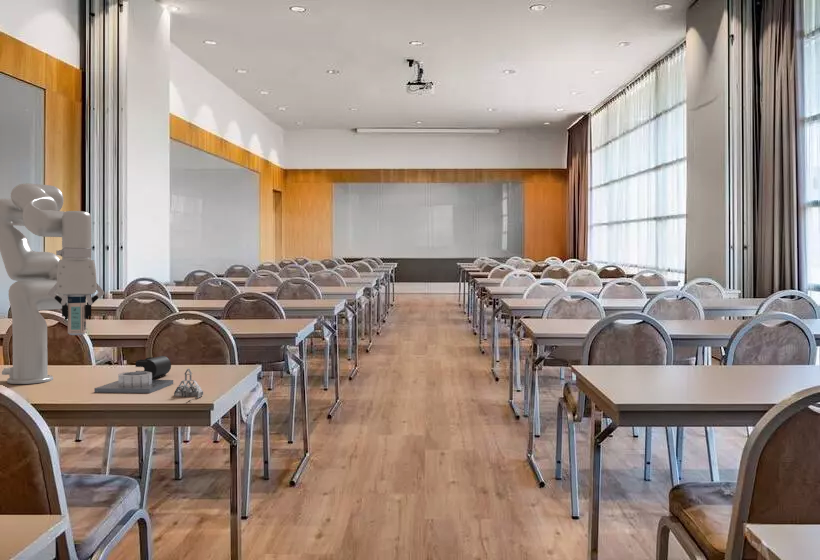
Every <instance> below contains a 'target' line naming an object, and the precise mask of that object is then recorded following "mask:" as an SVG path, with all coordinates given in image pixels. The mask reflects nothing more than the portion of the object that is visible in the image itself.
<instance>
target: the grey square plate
mask: <svg viewBox="0 0 820 560" xmlns="http://www.w3.org/2000/svg"><path fill="white" fill-rule="evenodd" d="M136 371H137V372H136ZM136 371H126V372H121V373H118V377H117V378H118V379H117V380H116V381H113V382H110V383H106V384H104V385H100V386H98V387H97V386H96V387H94V391H93V392H94V393H98V394H99V393H106V394H107V393H108V394H109V393H110V394H111V393H113V394H115V393H116V394H151V393H154V392H157V391H159V390H162V389H164V388H168V387H169V386H172V385H174V380H173V379H153V380H152V373H151V372H146V371H144V370H136ZM171 384H172V385H171Z"/></svg>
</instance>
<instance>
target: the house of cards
mask: <svg viewBox="0 0 820 560" xmlns="http://www.w3.org/2000/svg"><path fill="white" fill-rule="evenodd" d="M192 374H193V373H192V371H191V369H190V368H189V367H188V368H186V370H185V372H184V379H182V380H181V381H180V382H179V385H178V386H176V389H175V390H174V392H173V397H181V398H182V397H186V398H189V397H195V398H197V399H198V398H200V397H202V396H204V390H203V389H202V387H201V386H200V385H199V384H198V381H196V380H195V379H194V380H193V379H192V377H193V376H192ZM188 376H189V379H188ZM182 384H183V385H182ZM188 401H189V402H191V401H192V399H189V400H188Z"/></svg>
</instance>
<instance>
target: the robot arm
mask: <svg viewBox="0 0 820 560" xmlns="http://www.w3.org/2000/svg"><path fill="white" fill-rule="evenodd" d="M64 202H65V199H64V194H63V192H62V191H61V189H60V188H58V187H57V186H55V185H50V184H38V183H27V182H26V183H20V184H18V185H16V186H15V187H13V188H12V190H11V192H10V198H0V255H1V258H2V261H3V265H4V268H5V271H6V273H7V276H8V278H10V279H11V280H12V281H15V282H13V283H12V284H11V285H10V286H9V289H8V300H9V304H10V305H9V306H10V312H11V319H12V321H11V323H12V326H11V327H12V366H11V367H8V368H3V370H1V375H3V376H6V375H8V376H9V378H7V380H6V381H7V384H11V385H32V384H39V383H40V384H41V383H46V382H51V381H54V376H53V375H52V374H49V373H48V371H49V370H48V323H47V321H46V319H45V318H44V316H43V315H42V314H41V312H40V311H46V310H47V311H49V310H61V317H64V320H65V321H66V320H67V321H68V295H86V320H89V317H92V305H93V304H94V303H96V301H98V300H99V299H100V298H101V297H103V296H104V295H105V294H106V292H105V291H104V290H103V289H102V287H101V286H100V285H99V284H98V282H97V269H96V267H97V266H96V263H95V260H94V259H92V216H91V213H89V212H87V211H83V210H81V211H80V210H68V211H67V210H66V211H63V210H62V208H63V205H64ZM15 226H19V227H25V229H27V230H28V231H29V232H31V233H32V234H33V235H35V236H38V237H41V238H42V237H43V238H44V237H45V238H47V237H48V238H61V249H60V250H56V254H55V253H54V252H49V251H35V250H32V248H31V245H30V241H29V239H28V237H26V236H25V235H24V233H23V232H21V231H20V230H19V229H17V228H16V227H15ZM59 256H60V257H61V259H60V257H59ZM96 292H97V294H95V293H96ZM93 294H95V295H93ZM92 295H93V296H92ZM91 296H92V297H91Z"/></svg>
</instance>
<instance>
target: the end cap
mask: <svg viewBox="0 0 820 560" xmlns="http://www.w3.org/2000/svg"><path fill="white" fill-rule="evenodd" d="M135 368H143V371H146V372H151V373H152V379H153V380H156V379H158V378H161V377H163V375H164V376H166V375H167V374H168V373H169V372H170V371H171V368H172V363H171V360H170V359H169V358H168V357H167V356H165V355H160V356H156V357H151V356H150V357H146V358H145V359H138V360H136V361H135ZM137 371H138V370H135V372H137ZM160 376H161V377H160Z"/></svg>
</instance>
